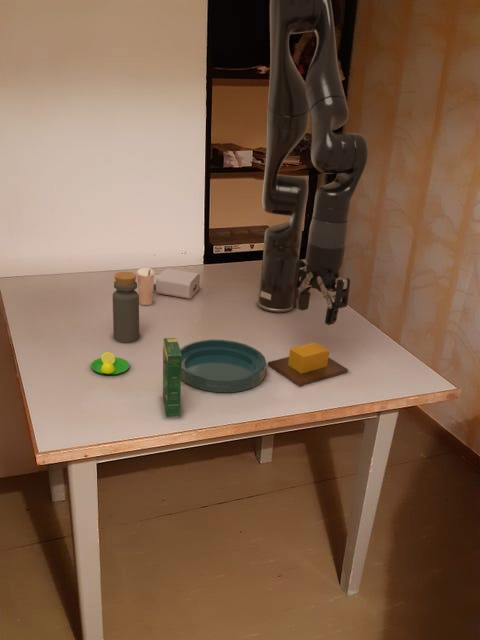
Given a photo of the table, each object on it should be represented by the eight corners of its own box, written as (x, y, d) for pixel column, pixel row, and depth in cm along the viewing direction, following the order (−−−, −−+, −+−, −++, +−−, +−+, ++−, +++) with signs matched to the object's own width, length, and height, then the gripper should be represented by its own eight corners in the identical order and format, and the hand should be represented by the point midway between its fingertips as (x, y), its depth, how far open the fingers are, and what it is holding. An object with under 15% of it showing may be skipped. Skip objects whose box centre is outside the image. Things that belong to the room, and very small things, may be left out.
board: (315, 352, 155) (315, 349, 155) (347, 372, 148) (348, 369, 148) (267, 365, 148) (267, 362, 148) (299, 386, 141) (299, 383, 140)
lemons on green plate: (85, 363, 142) (85, 351, 141) (120, 356, 146) (120, 345, 145) (99, 379, 137) (98, 367, 135) (135, 372, 141) (135, 360, 139)
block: (313, 358, 151) (315, 342, 149) (327, 366, 148) (329, 350, 146) (287, 365, 147) (289, 348, 145) (301, 373, 144) (303, 357, 142)
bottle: (134, 344, 152) (133, 281, 144) (109, 340, 153) (107, 277, 145) (142, 334, 157) (142, 272, 149) (118, 330, 158) (117, 269, 150)
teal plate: (231, 345, 155) (232, 333, 154) (282, 380, 143) (284, 367, 141) (159, 362, 145) (159, 349, 144) (207, 401, 133) (208, 388, 131)
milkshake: (140, 308, 170) (140, 270, 165) (134, 300, 174) (134, 263, 169) (158, 306, 172) (158, 268, 166) (151, 299, 176) (152, 261, 170)
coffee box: (161, 396, 133) (162, 336, 126) (176, 396, 133) (177, 336, 126) (165, 418, 126) (166, 355, 119) (180, 417, 127) (182, 355, 120)
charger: (148, 280, 187) (199, 288, 184) (135, 291, 179) (189, 300, 177) (148, 264, 184) (200, 272, 182) (135, 274, 177) (190, 283, 174)
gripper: (365, 249, 130) (352, 325, 139) (317, 228, 140) (307, 301, 148) (337, 254, 126) (325, 332, 135) (289, 232, 136) (281, 307, 144)
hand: (316, 316), depth 142 cm, fingers open, 8 cm apart
